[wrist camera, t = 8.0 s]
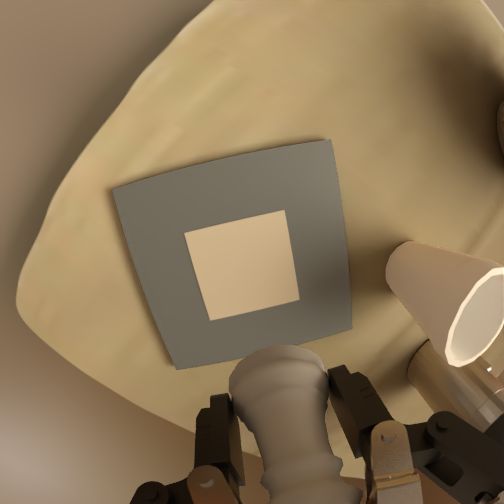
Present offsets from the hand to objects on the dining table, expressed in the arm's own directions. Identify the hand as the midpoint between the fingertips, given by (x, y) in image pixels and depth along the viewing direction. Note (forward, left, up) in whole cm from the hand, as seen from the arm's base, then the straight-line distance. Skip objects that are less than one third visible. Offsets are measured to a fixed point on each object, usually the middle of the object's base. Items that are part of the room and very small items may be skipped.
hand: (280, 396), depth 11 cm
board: (0, 0, -17) cm, 17 cm away
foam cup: (-18, +5, -17) cm, 25 cm away
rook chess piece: (0, 0, -1) cm, 1 cm away
